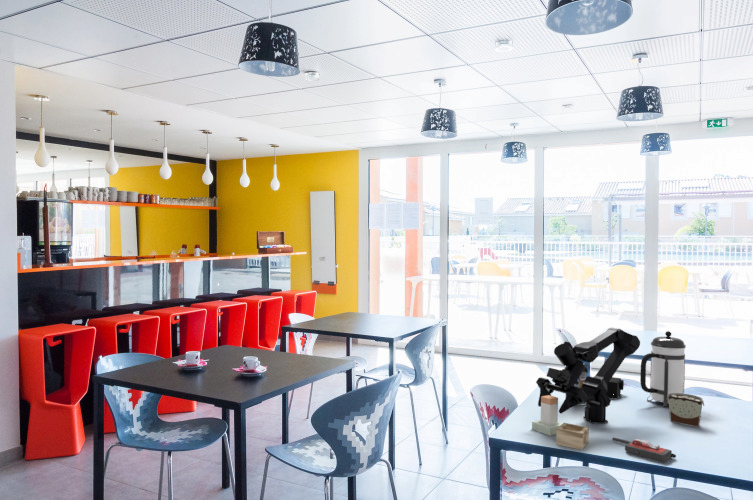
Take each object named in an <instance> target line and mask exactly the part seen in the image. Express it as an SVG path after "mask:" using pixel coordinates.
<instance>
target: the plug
mask: <svg viewBox="0 0 753 500" xmlns="http://www.w3.org/2000/svg"><path fill="white" fill-rule="evenodd" d="M558 415H559V397H556V396H554V395H552V394H551V395H546V396H541V407H540V420H541V424H544V425H547V426H554V425H558V422H559V421H558V420H559V419H558V418H559V416H558Z"/></svg>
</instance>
